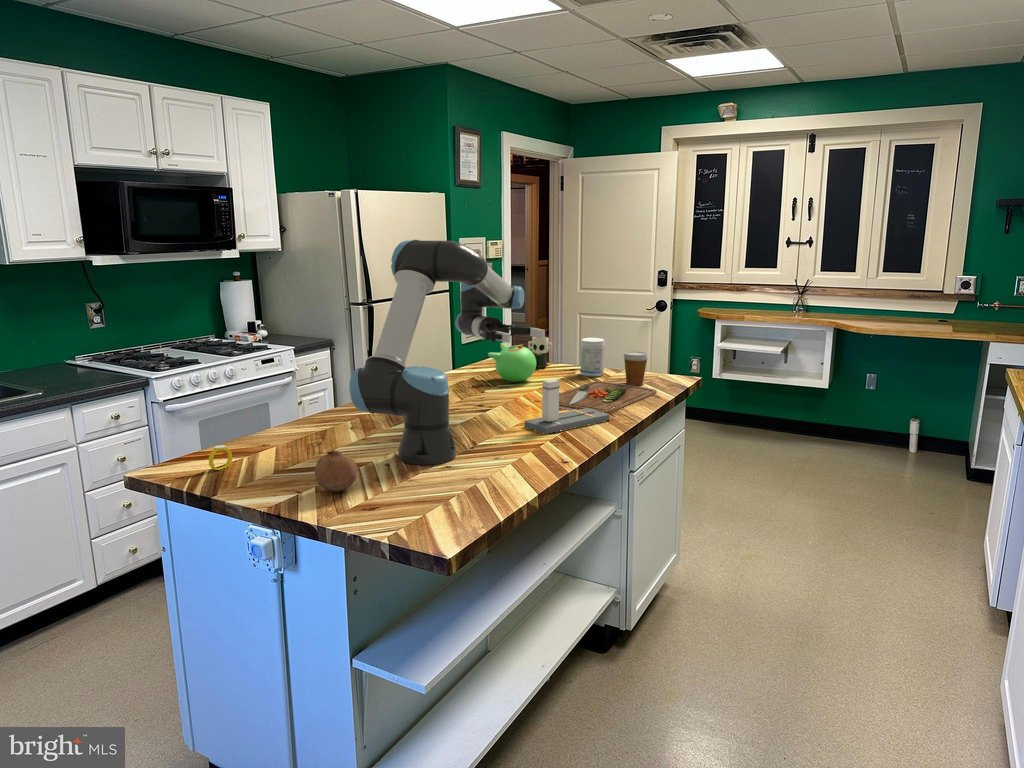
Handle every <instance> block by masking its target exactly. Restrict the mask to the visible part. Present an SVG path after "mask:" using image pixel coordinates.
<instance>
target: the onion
mask: <svg viewBox="0 0 1024 768" xmlns="http://www.w3.org/2000/svg"><path fill="white" fill-rule="evenodd" d="M358 472H359V471H358V465H357V463H356V461H355V460H354V459H353V458H352V457H351V456H349V455H347V454H344V453H342V452H341V451H339V450H336V449H330V450H329V451H327V452H326V454H324V455H323V456H321V457H320V458H319V459H318V460H317V462H316V464H315V468H314V476H315V477H314V478H315V480H316V482H317V484H318V485H319V486H320V487H321V488H323V489H325V490H328V491H330V492H332V493H341V492H344V491H346V490H347V489H349V488H350V487H352V485H353V484H354V483H355V481H356V480H357V476H358V474H359V473H358Z"/></svg>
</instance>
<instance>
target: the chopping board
mask: <svg viewBox="0 0 1024 768" xmlns="http://www.w3.org/2000/svg"><path fill="white" fill-rule="evenodd" d="M657 391H658V390H656V389H654V388H649V387H644V386H640V385H628V384H624V383H617V382H607V381H591V382H589V383H584V384H582V385H580V386H576V387H574V388H571V389H568V390H565V391H563V392H559V408H561V409H560V410H565V409H568V410H567V411H571V410H577V409H586V408H589V409H592V410H596V411H599V412H604V413H610V412H614V411H616V410H618V411H620V410H622V409H621V408H623V409H625V408H627V407H629V406H632V405H634V404H636V403H638V402H641V401H643V400H645V399H648V398H650V397H651V396H654V395H656V394H657ZM633 403H634V404H633ZM631 404H632V405H631ZM628 405H629V406H628ZM560 406H562V407H560ZM616 406H617V407H616ZM626 406H627V407H626ZM566 407H569V408H566ZM613 407H615V408H613ZM624 407H625V408H624ZM572 408H575V409H572ZM611 408H613V409H611ZM609 409H610V410H609ZM619 409H620V410H619ZM616 412H617V411H616ZM614 413H615V412H614ZM610 414H611V413H610Z"/></svg>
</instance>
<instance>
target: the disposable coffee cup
mask: <svg viewBox="0 0 1024 768" xmlns="http://www.w3.org/2000/svg"><path fill="white" fill-rule="evenodd" d="M622 356H623V359H624V369H625V380H626V381H625V383H626V385H628V384H629V385H632V386H643V384H644V379H645V374H646V367H647V361H648V359H649V356H648V353H647V352H644V351H635V350H633V351H631V350H630V351H625V352H624V354H623V355H622Z"/></svg>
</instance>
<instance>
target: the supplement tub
mask: <svg viewBox="0 0 1024 768" xmlns="http://www.w3.org/2000/svg"><path fill="white" fill-rule="evenodd" d="M580 343H581V344H580V375H581V376H583V377H590V378H591V377H594V378H595V377H602V376H603V375H604V370H605V369H604V366H605V339H604V338H600V337H585V338H581V341H580Z"/></svg>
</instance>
